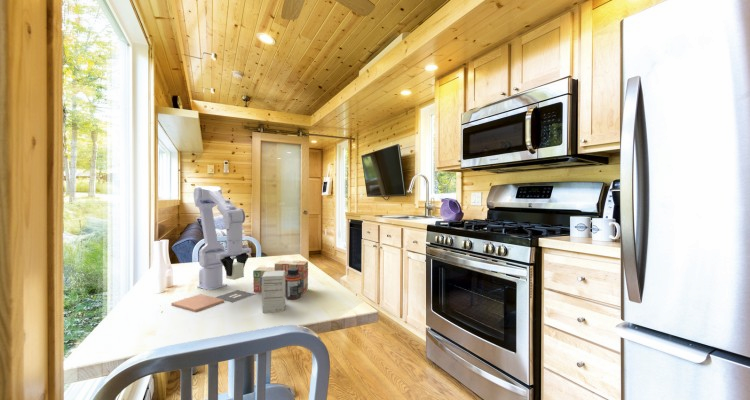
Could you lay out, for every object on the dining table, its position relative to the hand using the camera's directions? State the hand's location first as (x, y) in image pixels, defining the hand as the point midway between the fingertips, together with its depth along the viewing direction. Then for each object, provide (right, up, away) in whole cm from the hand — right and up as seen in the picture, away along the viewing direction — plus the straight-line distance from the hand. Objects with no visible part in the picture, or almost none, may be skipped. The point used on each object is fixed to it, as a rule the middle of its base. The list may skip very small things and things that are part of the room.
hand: (234, 274), depth 123 cm
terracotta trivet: (-10, -9, -8) cm, 16 cm away
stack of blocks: (+16, -9, +7) cm, 20 cm away
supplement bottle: (+23, -9, -1) cm, 25 cm away
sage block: (0, -1, 0) cm, 1 cm away
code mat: (0, -9, 0) cm, 9 cm away
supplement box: (+20, -10, -12) cm, 25 cm away
